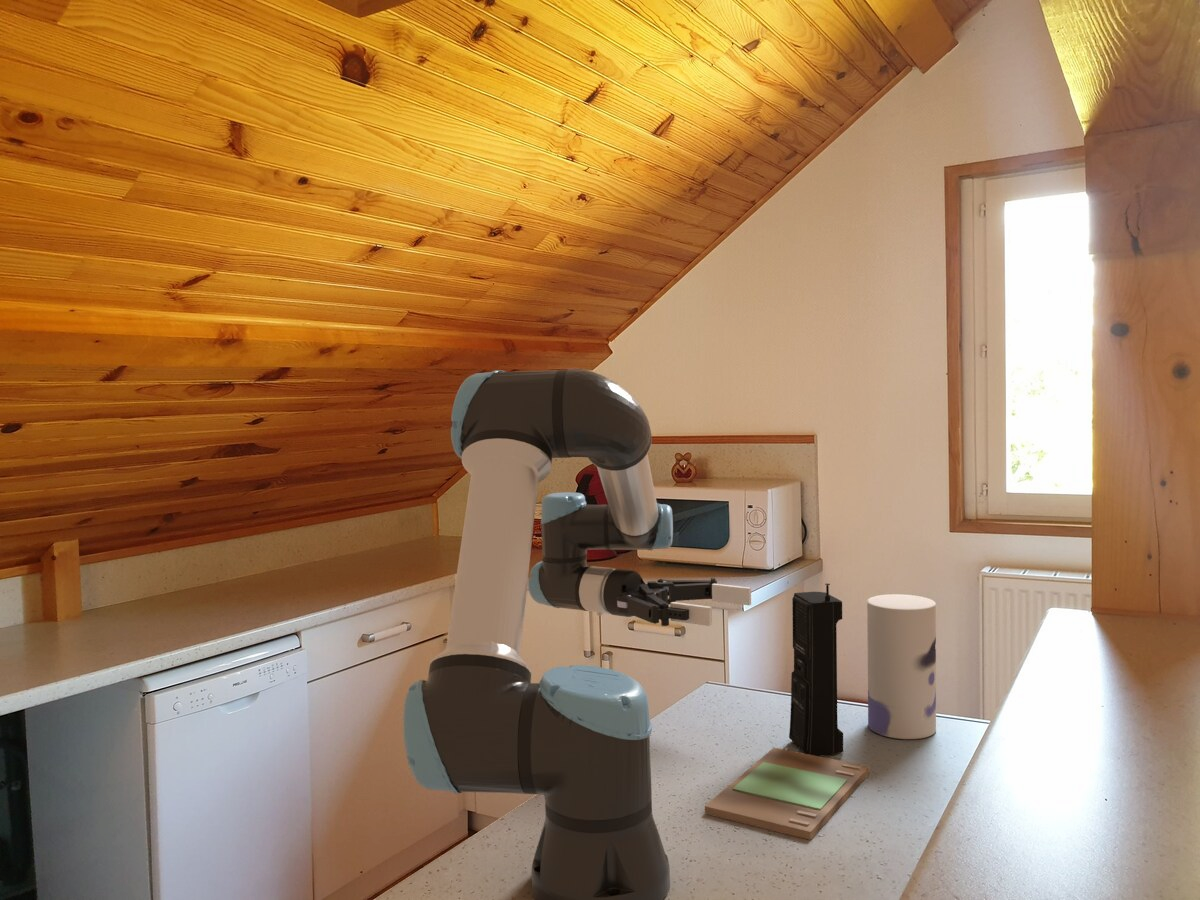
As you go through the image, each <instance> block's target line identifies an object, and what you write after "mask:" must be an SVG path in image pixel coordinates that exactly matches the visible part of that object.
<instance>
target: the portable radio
mask: <svg viewBox="0 0 1200 900" xmlns="http://www.w3.org/2000/svg"><path fill="white" fill-rule="evenodd" d="M824 585H825V587H826V589H825V592H824V591H803V592H794V594H793V597H792V599H791V600H792V601H791V602H792V604H791V605H792V609H791V610H792V649H793V671H792V672H791V679H790V680H791V681H790V682H791V683H790V685H791V687H790V715H789V716H790V721H789V732H788V733H789V735H788V738H789V739H790V740H791V742H792V743H793V744H794V745H795V746H796V747H797V748H798V749H799V751H801V753H804V754H809V755H814V756H819V757H826V756H828V757H829V756H834V755H838V754H840V753H843V752H844V732H843V731H842V730H841V729H839V728H838V727H839V726H838V665H837V664H838V658H837V657H838V653H837V652H838V651H837V650H838V649H837V648H838V647H837V646H838V645H837V640H838V639H837V634H838V633H837V624H838V622H840V620H843V601H842V600H840V599H838V598H836V597H835V596H833V595H831V594H830V592H829V591H830V590H829V589H830V588H829V586H830V585H831V583H825V584H824Z"/></svg>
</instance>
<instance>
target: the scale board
mask: <svg viewBox="0 0 1200 900" xmlns="http://www.w3.org/2000/svg"><path fill="white" fill-rule="evenodd" d="M869 775H870V766H868V765H864V764H858V763H854V762H848V761H844V760H840V759H833V758H829V757H825V756H814V755H809V754H804V753H803V752H800V751H799V752H798V751H793V750H789V749H784V748H778V747H773V748H771V749H770V750H769V751H768V752H767V753H766V754H765V755H763V756H762V757H761V758H760V759H758V760H757V761H756V762H755V763H754V764H753V765H751V766H750V767H749V768H747V770H746V771H744V772H743V773H742V774H741V775H739V776H738V777H737V778H735V780H734V781H732V782H731V783H730V784H729V785H727V787H725V788H724V789H722V791H721V792H720V793H718V794H717V795H715V797H714V798H712V799H711V800H710V801H709V802H707V803H706V804H705V806H704V814H706V815H707V816H708V815H709V816H712V817H713V816H714V817H717V818H720V819H724V820H727V821H728V820H729V821H733V822H737V823H741V824H744V825H749V826H752V827H757V828H760V829H764V830H769V831H773V832H776V833H781V834H785V835H789V836H792V837H797V838H799V839H800V838H801V839H805V840H809V841H811V840H812V839H813V838H814V837H815V836H816V835H817V833H819V831H821V829H822V828H823V827H824V826H825V825H826V823H827V822H828V821H829V820H830V819H831V818H832V817H833V815H834V814H835V813H836V812H837V811H838V809H839V808H840V807H841V806H842V805H843V804H844V803H845V801H846V800H847V799H848V798H849V797H850V796H851V795H852V794H853V793H854V792H855V791H856V789H857V788H858V787H859V786H860V785H861V784H862V782H864V780H865V779H866V778H867V777H868V776H869ZM866 776H867V777H866ZM860 783H861V784H860Z"/></svg>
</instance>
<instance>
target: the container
mask: <svg viewBox="0 0 1200 900" xmlns="http://www.w3.org/2000/svg"><path fill="white" fill-rule="evenodd" d="M866 609H867V615H866V616H867V620H866V621H867V623H866V625H867V726H868V728H869V729H870V730H871V731H873V732H874V733H876V734H879V735H880V736H883V737H884V736H885V737H888V738H892V739H899V740H900V739H901V740H902V739H903V740H918V739H925V738H929V737H930V736H932V735H934V734H935V733H936V732H937V666H936V665H937V648H936V643H937V631H936V630H937V628H936V627H937V614H936V613H937V603H936V602H935V601H934V599H931V598H928V597H925V596H921V595H920V596H919V595H914V594H903V593H900V594H899V593H897V594H896V593H895V594H892V593H891V594H889V593H888V594H879V595H874V596H872V597H869V598H868V599H867V603H866Z"/></svg>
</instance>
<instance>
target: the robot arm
mask: <svg viewBox="0 0 1200 900" xmlns="http://www.w3.org/2000/svg"><path fill="white" fill-rule="evenodd" d="M450 420H451V422H452V424H451V427H450V437H451V444H452V448H453V450H454V453H455V455H457V457H458V458H460V459H461V464H462V466H463V468H464V470H465V471H466V472H467V473H469V475H470V480H469V485H468V486H469V487H468V494H467V500H466V507H465V508H466V509H465V515H464V521H463V522H464V523H463V527H462V528H463V529H462V535H461V542H460V550H459V555H458V557H459V558H458V563H457V568H456V569H457V570H456V576H455V584H454V590H453V598H452V605H451V611H450V617H449V624H448V632H447V633H448V634H447V639H446V645H445V649H444V650H443V651H442V652H440V653H438V655H436V656H434V657H433V658H432V659H431V660H430V662H429V663H430V664H429V669H428V675H427V679H426V680H425V679H419V680H418V681H415V682H413V683H411V685H410V686H409V687H408V692H407V693H406V695H405V699H404V704H403V705H404V706H403V716H402V717H403V718H402V721H403V722H402V726H403V729H402V730H403V732H402V733H403V741H404V742H403V744H404V751H405V756H406V759H407V764H408V766H409V769H410V772H411V774H412V776H413V779H414V780H415V781H416V782H417V784H418V785H420V786H421V787H422V788H424V789H426V790H432V791H441V792H452V793H454V794H456V795H461V793H486V794H488V793H492V794H495V793H497V794H518V795H519V794H521V795H543V796H544V803H545V805H544V807H545V818H544V822H543V825H542V828H541V829H542V830H541V833H540V835H539V840H538V843H537V846H536V849H535V853H534V857H533V860H532V864H531V870H530V871H531V872H530V873H531V892H532V895H533V897H534V899H535V900H664V899H665V898H666V896H667V895H668V893H669V890H670V888H671V887H670V886H671V878H670V877H671V874H670V872H671V870H670V869H671V868H670V862H669V858H668V855H667V854H666V852H665V851H666V850H665V848H664V845H663V841H662V839H661V836H660V833H659V829H658V827H657V824H656V822H655V819H654V816H653V807H652V806H653V802H652V801H653V800H652V799H653V798H652V794H653V793H652V792H653V790H652V771H651V768H652V765H651V734H652V732H653V731H652V730H653V725H652V722H651V719H650V718H651V717H650V708H649V697H648V694H647V692H646V690H645V688H644V687H643V685H641V683H640V682H639V681H637V680H636V679H634V678H633V677H631V676H629V675H627V674H625V673H623V672H620V671H618V670H613V669H610V668H605V667H601V666H594V665H585V664H584V665H583V664H581V665H579V664H573V665H572V664H571V665H569V666H563V665H562V666H561V665H560V666H558V667H554V668H553V667H552V668H551V669H549V670H546V671H545V672H544V673H543V675H542V676H541V679H540V680H539V682H537V683H536V682H532V670H531V668H530V667H529V666H528V664H527V663H526V662H525V661H524V660H523V659H522V657H521V649H522V640H523V633H524V631H523V629H524V620H525V612H526V601H527V593H528V592H529V594H530V597H531V598H532V600H533V601H535V602H536V603H538V604H539V605H545V606H548V607H553V608H555V609H568V610H575V611H577V610H579V611H584V612H591V613H592V612H594V613H596V615H597V616H599V617H601V616H602V615H603V614H607V615H609V614H610V615H612V616H619V617H626V618H631V617H633V616H634V617H635V618H638V619H641V620H643V621H646V622H648V623H651V624H655V625H656V624H659V623H660V622H661V626H662V627H667V626H668V627H669V626H670V622H677V623H686V624H691V625H699V626H700V625H701V626H706V627H707V626H708V627H711V626H712V625H713V609H712V608H713V607H712V606H709V605H708V606H707V605H701V604H693V603H684V602H679V601H696V600H711V601H712V602H719V603H726V604H727V603H728V604H735V605H741V606H742V605H743V606H751V605H752V587H749V586H742V585H741V586H740V585H730V584H721V583H718V580H716V578H715V577H710V579H665V578H664V579H662V578H659V579H657V580H656V581H655V580H653V581H652V580H651V581H647V582H645V581H644V580H643V577H642V576H641V574H640V573H639V572H638V571H636V570H631V569H624V568H617V569H616V568H613V567H608V566H607V567H604V566H594V565H588V564H587V562H588V561H587V559H588V550H590V551H592V550H594V551H595V550H615V551H616V550H618V551H619V550H623V551H624V550H625V551H626V550H628V551H631V550H633V551H634V550H635V551H637V550H640V551H641V550H642V551H653V550H663V549H664V550H665V549H669V548H670V547H672V545H673V537H674V536H673V535H674V519H673V518H674V517H673V509H672V507H671V506H670V505H668V504H664V503H663V504H661V503H659V502H658V501H657V497H656V492H655V487H654V481H653V480H654V479H653V476H652V471H651V465H650V460H649V455H648V453H649V452H650V450H651V446H652V440H653V439H652V430H651V425H650V421H649V419H648V417H647V414H646V413H645V411H644V408H642V407H641V404H639V402H638V401H637V400H636V399H635V397H634V396H632V394H630V392H628V391H627V390H626V389H625V388H623V387H622V386H621V385H619V384H618V383H617V382H615V381H613V380H612V379H610V378H609V377H606V376H605V375H602V374H600V373H597V372H594V371H591V370H585V369H581V368H568V369H553V370H552V369H551V370H548V369H547V370H528V371H527V370H522V371H521V370H520V371H505V370H498V369H497V370H493V371H489V372H478V373H477V372H476V373H474V374H471V375H469V376H467V378H465V379H464V381H462V383H461V384H460V386H459V389H458V390H457V392H456V395H455V398H454V402H453V407H452V410H451V417H450ZM561 458H562V459H566V458H568V459H569V458H587V459H588V460H589V461H590V463H592V464H593V465H594V466H596V468H597V472H598V476H599V478H600V482H601V485H602V488H603V491H604V495H605V498H606V501H607V504H591V503H590V504H587V501H586V496H585V495H584V494H583V493H581V492H572V491H571V492H567V491H565V492H563V491H562V492H553V493H549V494H547V495H545V496H544V497H543V498H542V500H541V520H540V525H541V545H542V546H541V547H542V548H541V549H542V559H541V561H539V562H537V563H535V564H534V565H533V567H532V568H531V570H530V565H531V564H530V563H531V562H530V561H531V555H532V554H531V552H532V543H533V542H532V541H533V536H534V535H533V533H534V524H535V523H534V522H535V515H536V505H537V503H536V502H537V493H538V484H539V483H540V482H542V481H544V480H545V479H546V478H548V476H550V473H551V472H552V464H553V463H552V462H553V459H561ZM529 570H530V571H529ZM529 572H530V573H529ZM529 575H530V578H529Z"/></svg>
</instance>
